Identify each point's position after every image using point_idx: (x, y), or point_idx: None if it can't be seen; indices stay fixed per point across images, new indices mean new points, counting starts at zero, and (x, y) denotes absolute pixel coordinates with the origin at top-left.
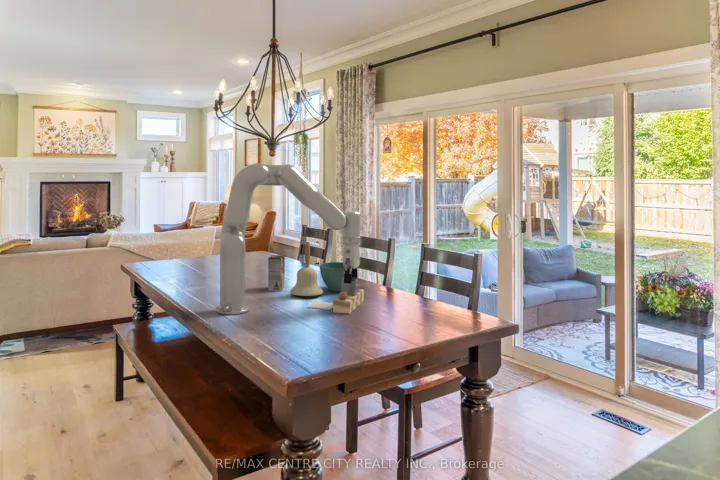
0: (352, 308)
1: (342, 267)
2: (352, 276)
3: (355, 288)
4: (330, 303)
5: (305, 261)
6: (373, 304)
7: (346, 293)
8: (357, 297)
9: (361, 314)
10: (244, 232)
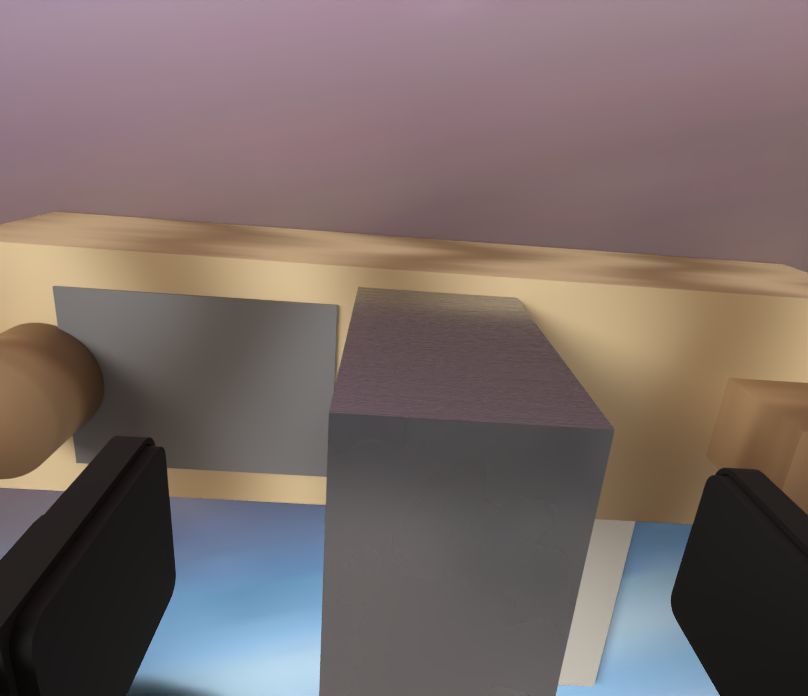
0: (675, 262)
1: None
2: (149, 579)
3: (538, 338)
4: None
5: None
6: (220, 27)
7: None
8: (429, 263)
9: (799, 114)
10: None
